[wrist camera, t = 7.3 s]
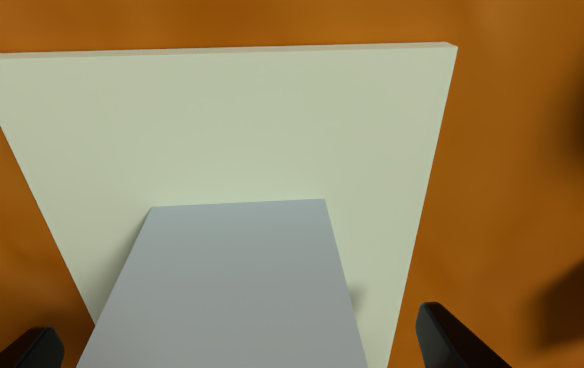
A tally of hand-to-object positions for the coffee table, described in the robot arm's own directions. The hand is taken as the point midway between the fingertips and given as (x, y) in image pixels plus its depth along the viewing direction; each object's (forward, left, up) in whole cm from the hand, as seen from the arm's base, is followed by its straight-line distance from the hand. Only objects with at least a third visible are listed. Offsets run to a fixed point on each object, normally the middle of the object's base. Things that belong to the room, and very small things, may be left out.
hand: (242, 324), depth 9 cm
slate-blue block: (0, 0, -2) cm, 2 cm away
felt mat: (0, 0, -3) cm, 3 cm away
